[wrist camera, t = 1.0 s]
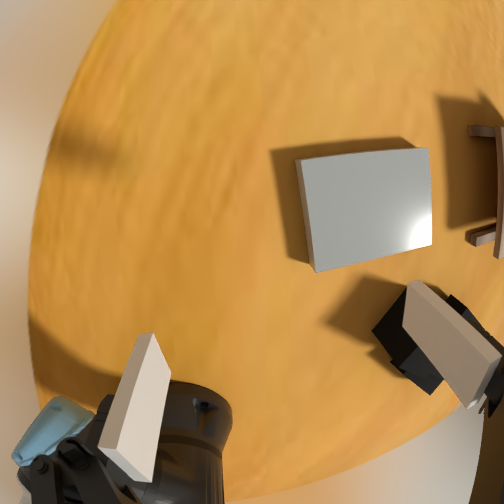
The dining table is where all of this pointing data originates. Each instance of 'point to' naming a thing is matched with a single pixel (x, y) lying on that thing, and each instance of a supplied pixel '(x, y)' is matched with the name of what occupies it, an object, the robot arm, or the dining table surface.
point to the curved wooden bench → (500, 233)
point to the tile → (365, 205)
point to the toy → (412, 344)
